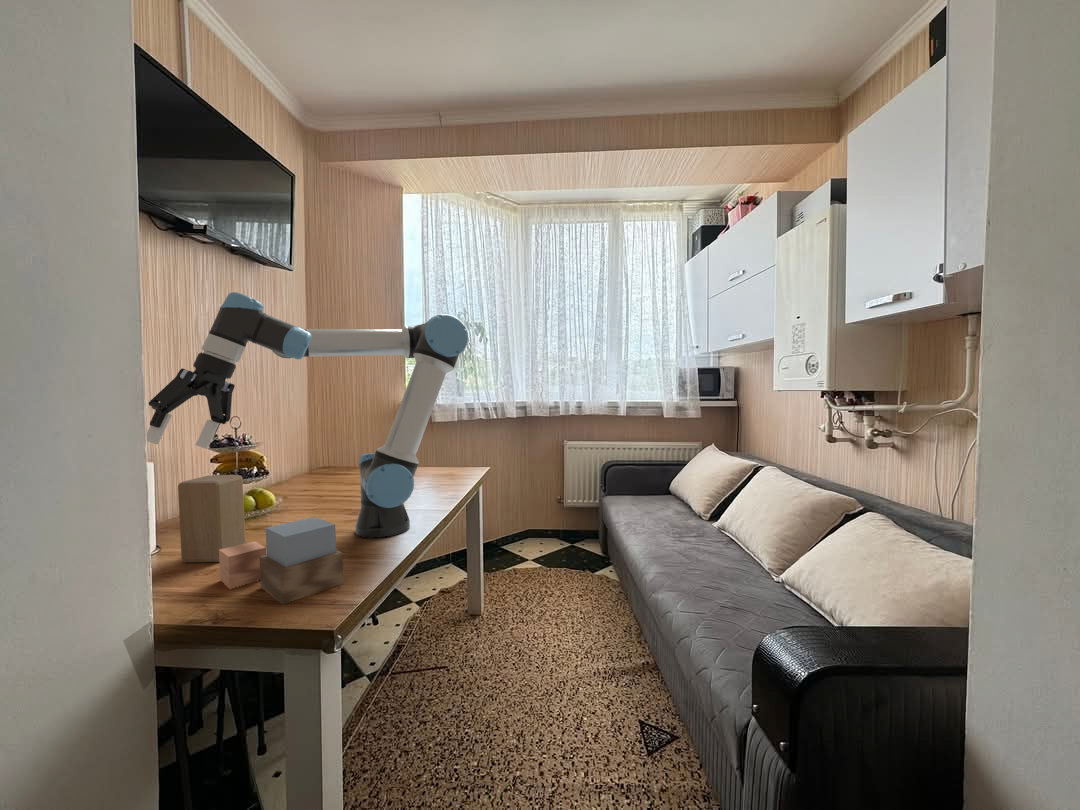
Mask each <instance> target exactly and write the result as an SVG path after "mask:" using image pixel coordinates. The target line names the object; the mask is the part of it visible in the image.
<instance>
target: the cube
mask: <svg viewBox="0 0 1080 810" xmlns="http://www.w3.org/2000/svg"><path fill="white" fill-rule="evenodd" d="M266 554H267V548H266V546H264V545H263V544H260V543H259V542H258V541H255V540H254V541H251V542H245V544H241V545H237V546H233V547H228V548H224V549H220V550H219V560H220V562H219V578H220V580H221V581H222V582H223V583H224V586H226V587H227V588H228V589H229V590H233V589H235V587H237V588H239V586H240V587H243V586H246V585H245V584H247V585H249V584H248V583H250V584H252V583H251V582H253V583H255V582H254V581H257V580H260V581H261V578H260V556H263V555H266ZM222 582H221V583H222ZM257 582H258V581H257ZM223 583H222V584H223ZM242 585H243V586H242ZM232 588H233V589H232Z"/></svg>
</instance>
